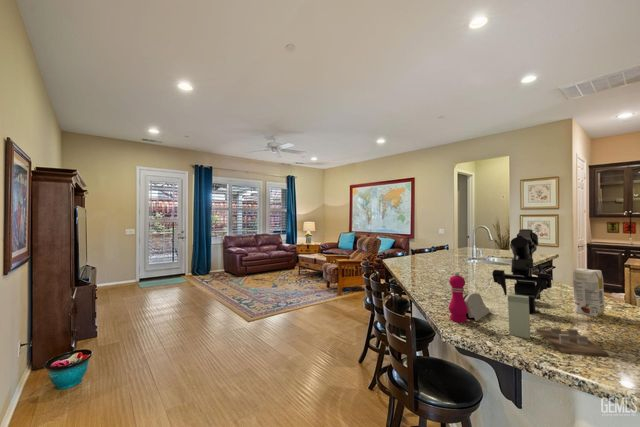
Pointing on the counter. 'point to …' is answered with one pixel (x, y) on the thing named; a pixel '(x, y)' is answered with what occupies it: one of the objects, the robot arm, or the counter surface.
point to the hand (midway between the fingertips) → (519, 296)
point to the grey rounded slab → (475, 306)
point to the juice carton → (588, 292)
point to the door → (519, 315)
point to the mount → (571, 342)
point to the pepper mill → (457, 299)
